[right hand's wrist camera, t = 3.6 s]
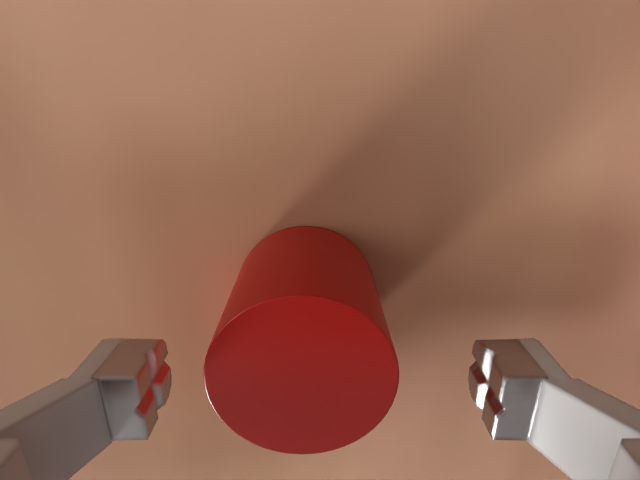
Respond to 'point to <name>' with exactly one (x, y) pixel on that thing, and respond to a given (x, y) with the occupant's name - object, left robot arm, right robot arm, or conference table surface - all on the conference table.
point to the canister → (302, 346)
